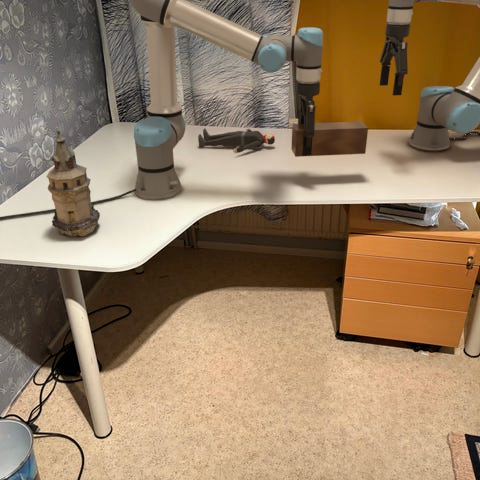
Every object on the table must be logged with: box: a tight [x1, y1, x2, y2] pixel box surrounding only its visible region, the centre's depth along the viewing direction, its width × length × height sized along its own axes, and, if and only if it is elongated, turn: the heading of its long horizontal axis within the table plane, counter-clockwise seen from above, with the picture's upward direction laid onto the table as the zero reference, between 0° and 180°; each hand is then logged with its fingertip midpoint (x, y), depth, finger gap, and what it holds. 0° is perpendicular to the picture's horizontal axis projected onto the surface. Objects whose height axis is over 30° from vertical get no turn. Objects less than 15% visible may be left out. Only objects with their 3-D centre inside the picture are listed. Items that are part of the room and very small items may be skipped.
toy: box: [197, 128, 276, 154], centre depth 214 cm, size 26×6×30 cm
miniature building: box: [46, 129, 101, 237], centre depth 148 cm, size 13×14×30 cm
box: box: [290, 121, 369, 158], centre depth 177 cm, size 24×7×9 cm, turn 95°
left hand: (304, 151), depth 178 cm, fingers closed on box, 7 cm apart
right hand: (390, 90), depth 182 cm, fingers open, 13 cm apart
